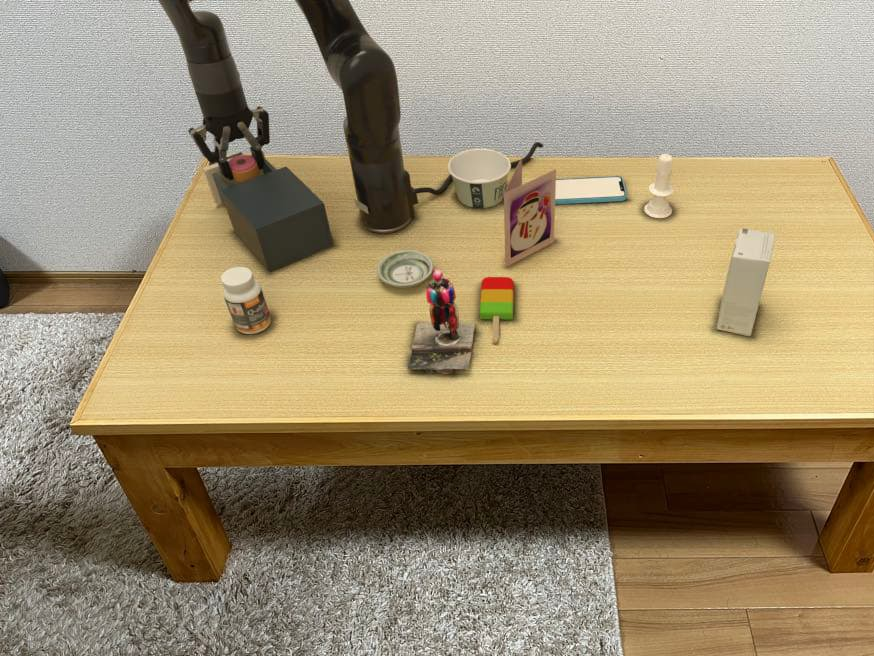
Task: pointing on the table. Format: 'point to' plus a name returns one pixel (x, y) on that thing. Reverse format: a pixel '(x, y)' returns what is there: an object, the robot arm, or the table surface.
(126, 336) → the table surface
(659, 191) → the candle
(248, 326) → the pill bottle
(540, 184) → the greeting card
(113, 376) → the table surface
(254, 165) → the donut
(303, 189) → the cabinet
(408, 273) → the saucer
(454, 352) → the statue
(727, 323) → the cosmetic box
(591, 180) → the smartphone
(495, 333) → the popsicle
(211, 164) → the drawer
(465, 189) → the food container
